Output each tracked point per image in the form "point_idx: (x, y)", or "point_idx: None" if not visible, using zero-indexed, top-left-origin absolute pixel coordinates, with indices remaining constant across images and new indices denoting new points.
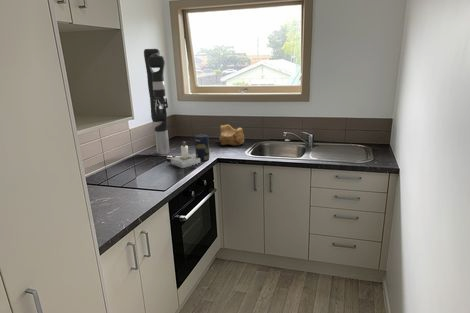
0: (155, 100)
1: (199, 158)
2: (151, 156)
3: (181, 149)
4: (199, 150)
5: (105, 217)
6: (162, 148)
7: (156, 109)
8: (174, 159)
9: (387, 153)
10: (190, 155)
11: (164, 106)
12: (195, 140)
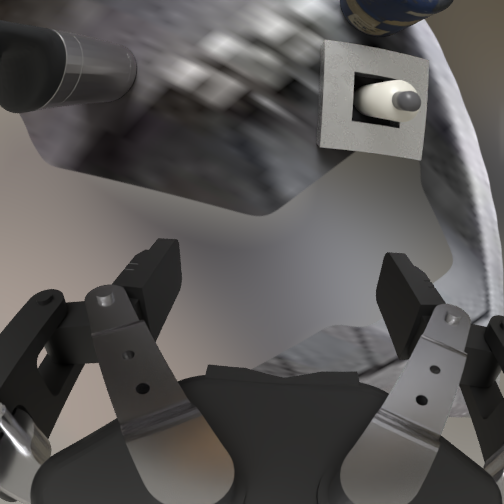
0: (37, 446)
1: (427, 63)
2: (121, 140)
3: (392, 120)
4: (408, 26)
5: (457, 410)
6: (117, 84)
7: (158, 329)
8: (356, 149)
9: None
10: (358, 52)
11: (491, 392)
12: (405, 12)
